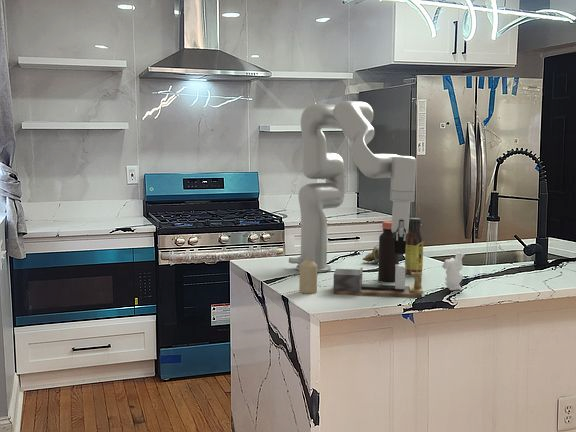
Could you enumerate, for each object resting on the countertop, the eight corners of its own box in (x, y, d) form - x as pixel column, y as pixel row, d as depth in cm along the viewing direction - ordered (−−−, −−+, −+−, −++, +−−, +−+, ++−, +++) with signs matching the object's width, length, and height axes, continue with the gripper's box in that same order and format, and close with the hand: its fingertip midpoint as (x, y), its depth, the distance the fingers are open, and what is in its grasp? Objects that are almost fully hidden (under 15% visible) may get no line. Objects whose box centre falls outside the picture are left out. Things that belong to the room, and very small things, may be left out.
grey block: (361, 288, 211) (361, 265, 210) (361, 285, 215) (362, 263, 214) (404, 290, 209) (405, 267, 208) (404, 287, 213) (405, 264, 212)
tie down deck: (333, 294, 209) (333, 273, 208) (335, 286, 220) (336, 266, 219) (423, 297, 205) (424, 276, 204) (421, 289, 216) (422, 269, 215)
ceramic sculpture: (403, 239, 262) (385, 246, 250) (403, 261, 264) (385, 269, 252) (379, 237, 269) (360, 244, 257) (379, 258, 270) (360, 266, 258)
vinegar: (385, 283, 225) (387, 223, 223) (374, 279, 231) (375, 221, 228) (402, 281, 228) (404, 222, 226) (390, 277, 234) (392, 220, 232)
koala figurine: (457, 286, 222) (458, 250, 220) (471, 290, 216) (472, 253, 214) (436, 288, 218) (438, 251, 216) (450, 292, 212) (452, 255, 210)
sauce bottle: (422, 275, 237) (424, 219, 235) (404, 274, 238) (406, 219, 236) (422, 272, 244) (424, 217, 241) (404, 271, 245) (406, 217, 242)
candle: (298, 289, 214) (298, 258, 213) (315, 289, 214) (316, 258, 213) (300, 294, 208) (300, 262, 207) (317, 293, 209) (318, 262, 208)
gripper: (389, 192, 217) (387, 245, 219) (390, 198, 200) (387, 255, 202) (413, 193, 216) (410, 246, 218) (415, 199, 199) (412, 256, 201)
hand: (399, 250), depth 210 cm, fingers open, 9 cm apart
